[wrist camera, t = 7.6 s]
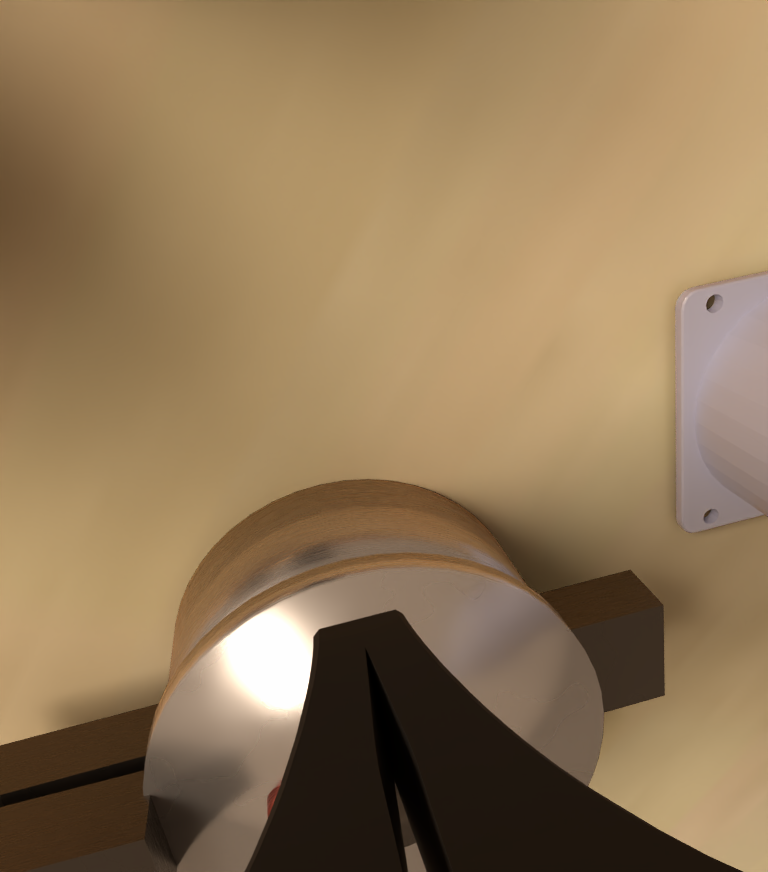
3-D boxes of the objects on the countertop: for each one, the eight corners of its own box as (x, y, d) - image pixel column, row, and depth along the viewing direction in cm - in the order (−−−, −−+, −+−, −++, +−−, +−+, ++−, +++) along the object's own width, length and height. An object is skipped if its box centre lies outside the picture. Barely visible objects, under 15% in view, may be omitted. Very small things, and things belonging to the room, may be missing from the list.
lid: (582, 504, 17) (623, 546, 15) (596, 841, 22) (629, 904, 20) (-169, 677, 15) (-224, 749, 13) (18, 1009, 20) (-3, 1097, 18)
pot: (588, 421, 22) (667, 483, 18) (604, 699, 26) (671, 799, 22) (-78, 578, 20) (-157, 688, 16) (59, 852, 24) (25, 994, 20)
